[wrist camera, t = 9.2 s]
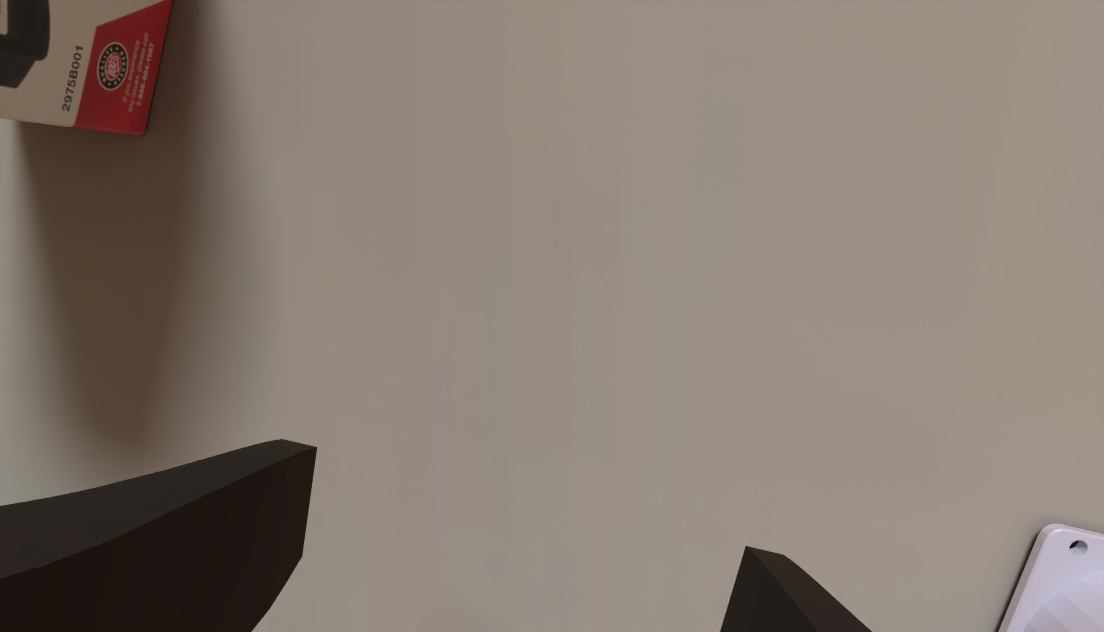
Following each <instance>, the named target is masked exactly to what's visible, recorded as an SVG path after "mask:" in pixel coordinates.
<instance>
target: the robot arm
mask: <svg viewBox="0 0 1104 632" xmlns="http://www.w3.org/2000/svg"><path fill="white" fill-rule="evenodd" d="M316 451H317V447H314V446H310V445H305V444H301V443H297V442H292V441H288V440H284V439H280V440H273V441H268V442H264V443H259V444H255V445H252V446H248V447H244V448H241V449H237V450H234V451H230V452H227V453H223V454H220V455H216V456H213V457H209V458H206V459H202V460H199V461H195V462H192V463H188V464H185V465H181V466H178V467H174V468H171V469H167V470H164V471H160V472H156V473H152V474H148V475H144V476H140V477H136V478H132V479H128V480H124V481H120V482H116V483H112V484H108V485H105V486H101V487H97V488H92V489H88V490H83V491H79V492H74V493H69V494H64V495H59V496H54V497H49V498H44V499H38V500H32V501H27V502H21V503H15V504H10V505H4V506H0V632H251V631H252V630H253V629H254V628H255V626H256V625H257V624H258V623H259V621H260V620H261V619H262V618H263V616H264V615H265V614H266V613H267V611H268V610H269V609H270V607H271V606H272V604H273V603H274V601H275V600H276V598H277V596H278V595H279V593H280V592H281V590H282V589H283V587H284V586H285V584H286V582H287V581H288V579H289V577H290V576H291V574H292V572H293V571H294V569H295V567H296V566H297V564H298V562H299V561H300V559H301V557H302V554H303V546H304V539H305V532H306V525H307V517H308V510H309V503H310V495H311V488H312V481H313V473H314V466H315V459H316ZM1076 540H1078V544H1077V545H1076V546H1075V547H1073V548H1071V549H1069V548H1070V545H1071V544H1072V542H1074V541H1076ZM720 632H872V631H871V630H869V629H868V628H867V627H866V626H865V625H864V624H863V623H862V622H861V621H859V620H858V619H857V618H856V617H855V616H854V615H853V614H852V613H851V612H849V611H848V610H847V609H846V608H845V607H844V606H843V605H842V604H841V603H840V602H838V601H837V600H836V599H835V598H834V597H833V596H832V595H831V594H830V593H829V592H827V591H826V590H825V589H824V588H823V587H822V586H821V585H820V584H819V583H818V582H816V581H815V580H814V579H813V578H812V577H811V576H810V575H808V574H807V573H806V572H805V571H804V570H803V569H801V568H800V567H799V566H798V565H797V564H795V563H794V562H793V561H792V560H790V559H789V558H787V557H786V556H785V555H782V554H778V553H774V552H769V551H765V550H761V549H756V548H752V547H748V546H746V547H745V550H744V554H743V557H742V561H741V564H740V567H739V571H738V574H737V577H736V581H735V584H734V587H733V591H732V594H731V597H730V601H729V604H728V607H727V611H726V614H725V617H724V621H723V624H722V627H721V631H720ZM998 632H1104V534H1102V533H1097V532H1093V531H1089V530H1084V529H1080V528H1076V527H1071V526H1067V525H1063V524H1051V525H1047V526H1046V527H1044V528H1043V529H1042V530H1041V531H1040V533H1039V534H1038V537H1037V539H1036V542H1035V544H1034V546H1033V549H1032V551H1031V554H1030V556H1029V559H1028V561H1027V563H1026V566H1025V568H1024V571H1023V573H1022V576H1021V578H1020V580H1019V583H1018V585H1017V588H1016V590H1015V593H1014V595H1013V597H1012V600H1011V602H1010V605H1009V607H1008V610H1007V612H1006V614H1005V617H1004V619H1003V622H1002V624H1001V627H1000V629H999V631H998Z"/></svg>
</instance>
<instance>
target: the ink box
mask: <svg viewBox="0 0 1104 632" xmlns="http://www.w3.org/2000/svg"><path fill="white" fill-rule="evenodd" d="M171 6H172V0H0V118H3V119H10V120H18V121H25V122H33V123H40V124H48V125H57V126H64V127H72V128H80V129H88V130H96V131H103V132H110V133H117V134H124V135H132V136H141V135H143V133H144V132H145V129H146V124H147V120H148V114H149V110H150V106H151V99H152V96H153V92H154V86H155V81H156V77H157V73H158V67H159V62H160V58H161V54H162V49H163V42H164V38H165V33H166V29H167V25H168V19H169V14H170V11H171Z"/></svg>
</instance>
